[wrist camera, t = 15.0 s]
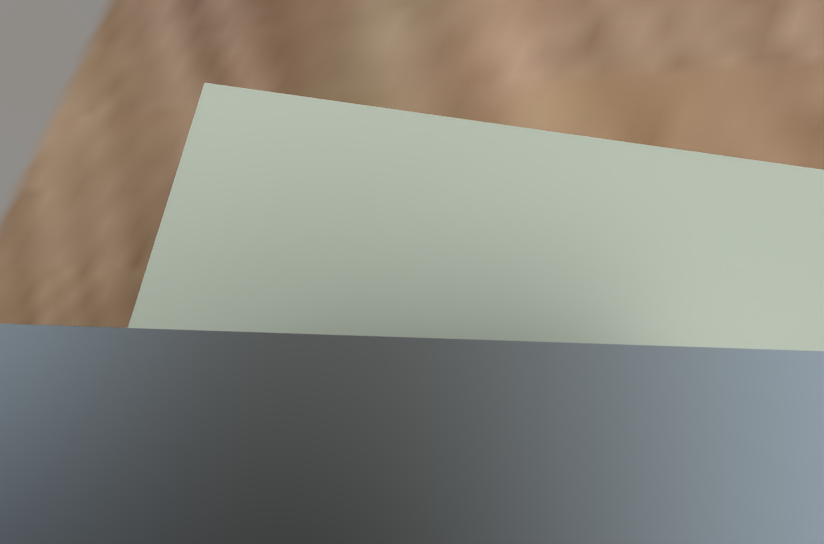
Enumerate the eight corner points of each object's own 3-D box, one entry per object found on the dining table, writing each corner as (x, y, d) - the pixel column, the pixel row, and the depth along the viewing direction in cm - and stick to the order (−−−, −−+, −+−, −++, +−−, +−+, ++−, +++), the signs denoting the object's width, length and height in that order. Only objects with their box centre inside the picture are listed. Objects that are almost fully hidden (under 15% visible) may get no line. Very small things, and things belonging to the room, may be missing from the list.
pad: (103, 765, 16) (-41, 864, 12) (277, 159, 18) (204, 82, 15) (810, 1043, 13) (921, 1300, 9) (896, 260, 15) (1011, 196, 11)
